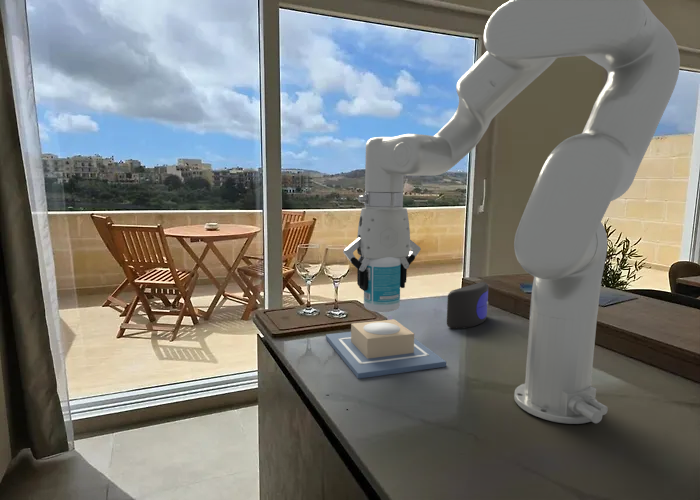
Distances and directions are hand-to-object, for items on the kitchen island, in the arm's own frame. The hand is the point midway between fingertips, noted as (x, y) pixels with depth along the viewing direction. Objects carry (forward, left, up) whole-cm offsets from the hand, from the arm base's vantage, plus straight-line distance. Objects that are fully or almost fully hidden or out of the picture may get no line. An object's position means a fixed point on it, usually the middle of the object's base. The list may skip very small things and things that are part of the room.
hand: (381, 287), depth 96 cm
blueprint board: (0, 0, -14) cm, 14 cm away
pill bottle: (0, 0, -5) cm, 5 cm away
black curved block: (+12, -28, -14) cm, 34 cm away
